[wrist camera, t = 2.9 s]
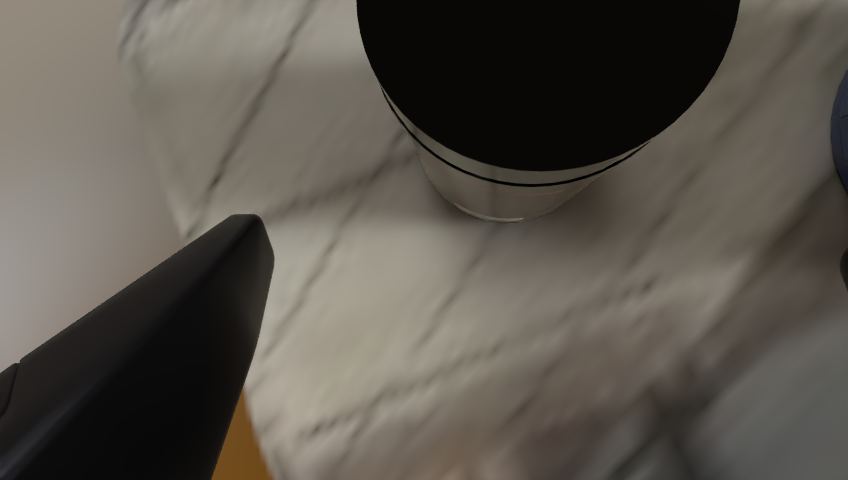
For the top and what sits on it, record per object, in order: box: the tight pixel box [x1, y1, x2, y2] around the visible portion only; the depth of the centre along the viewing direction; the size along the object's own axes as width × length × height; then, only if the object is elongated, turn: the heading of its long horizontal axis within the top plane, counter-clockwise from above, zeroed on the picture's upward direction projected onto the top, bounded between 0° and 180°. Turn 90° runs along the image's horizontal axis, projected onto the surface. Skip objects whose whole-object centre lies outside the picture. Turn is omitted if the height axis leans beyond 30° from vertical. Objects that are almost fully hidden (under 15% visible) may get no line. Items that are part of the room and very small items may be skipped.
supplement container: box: [356, 0, 740, 223], centre depth 14 cm, size 7×7×10 cm
